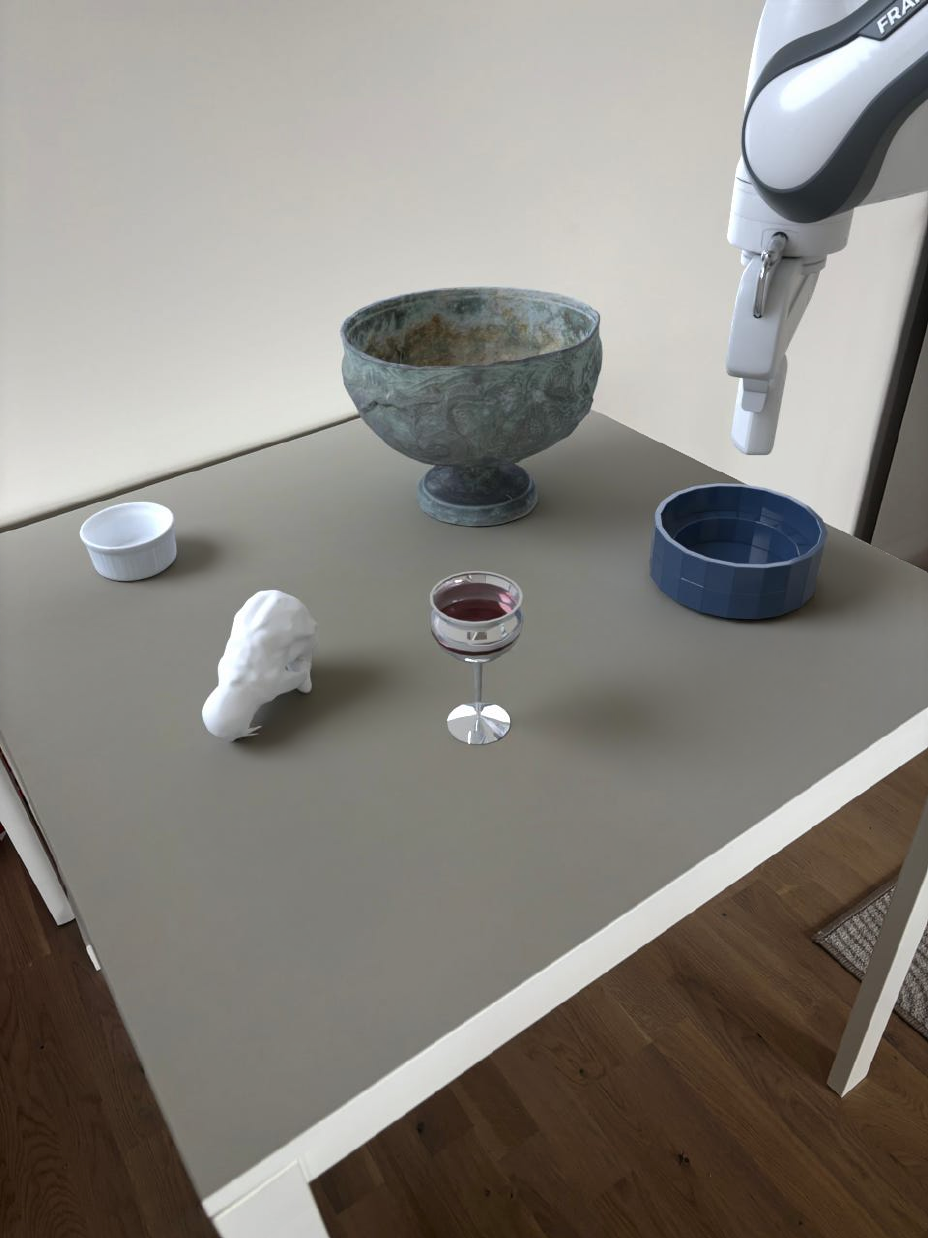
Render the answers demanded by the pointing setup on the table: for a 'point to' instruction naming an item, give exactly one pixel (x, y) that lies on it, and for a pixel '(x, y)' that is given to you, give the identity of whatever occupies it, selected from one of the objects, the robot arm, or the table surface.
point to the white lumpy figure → (261, 661)
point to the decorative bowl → (473, 388)
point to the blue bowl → (736, 550)
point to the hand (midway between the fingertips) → (761, 392)
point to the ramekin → (130, 540)
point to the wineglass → (476, 641)
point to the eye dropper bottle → (759, 418)
